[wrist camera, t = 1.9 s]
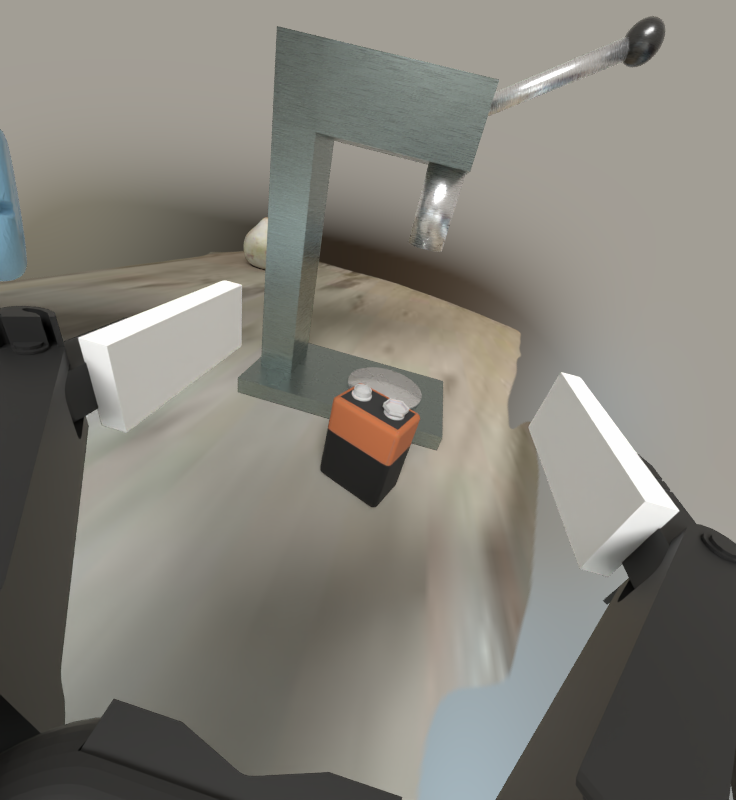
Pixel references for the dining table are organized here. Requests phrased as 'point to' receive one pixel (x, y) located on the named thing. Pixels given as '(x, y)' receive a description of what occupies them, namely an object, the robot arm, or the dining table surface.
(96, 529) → the dining table surface
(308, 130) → the arbor press
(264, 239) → the fruit
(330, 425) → the battery
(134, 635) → the dining table surface
